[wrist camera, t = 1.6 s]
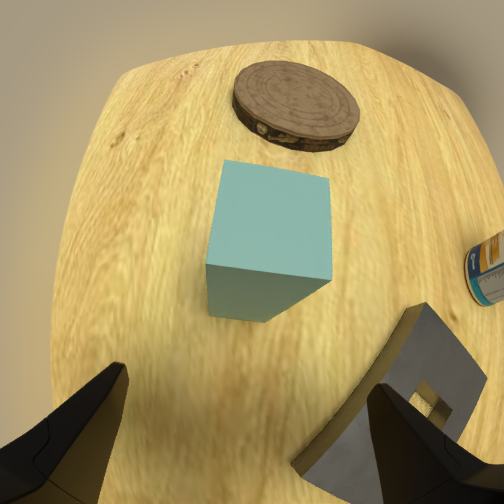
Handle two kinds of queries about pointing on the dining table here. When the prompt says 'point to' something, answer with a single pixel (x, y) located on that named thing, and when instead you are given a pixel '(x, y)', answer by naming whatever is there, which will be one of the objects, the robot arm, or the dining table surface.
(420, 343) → the square-hole plate
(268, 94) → the wood slice
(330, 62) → the dining table surface
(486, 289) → the beverage bottle
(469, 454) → the robot arm
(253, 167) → the teal peg
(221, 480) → the dining table surface
